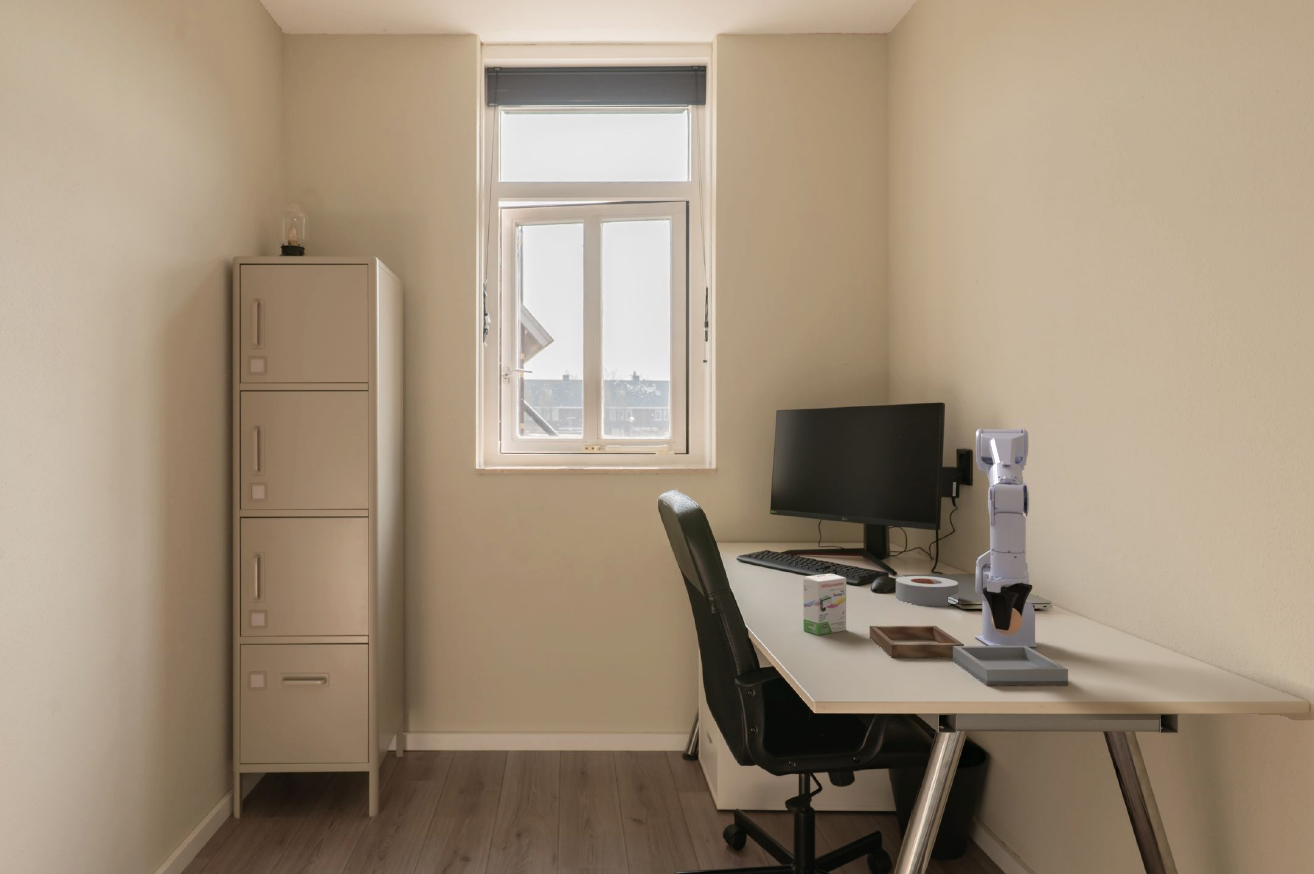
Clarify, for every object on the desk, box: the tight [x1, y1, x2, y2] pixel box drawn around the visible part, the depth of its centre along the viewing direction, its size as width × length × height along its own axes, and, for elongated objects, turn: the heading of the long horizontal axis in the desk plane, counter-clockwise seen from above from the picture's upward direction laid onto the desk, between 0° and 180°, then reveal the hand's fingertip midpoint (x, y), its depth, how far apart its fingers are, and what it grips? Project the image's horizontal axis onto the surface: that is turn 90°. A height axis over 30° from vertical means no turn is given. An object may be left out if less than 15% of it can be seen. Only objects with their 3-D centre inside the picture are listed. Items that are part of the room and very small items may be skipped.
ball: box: [992, 608, 1022, 635], centre depth 135 cm, size 5×5×5 cm
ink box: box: [802, 573, 847, 636], centre depth 163 cm, size 8×5×12 cm, turn 121°
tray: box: [952, 645, 1069, 687], centre depth 135 cm, size 14×14×3 cm
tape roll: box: [895, 575, 960, 607], centre depth 194 cm, size 15×15×5 cm
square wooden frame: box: [869, 625, 965, 658], centre depth 151 cm, size 14×14×2 cm
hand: (1007, 626), depth 135 cm, fingers closed on ball, 5 cm apart
